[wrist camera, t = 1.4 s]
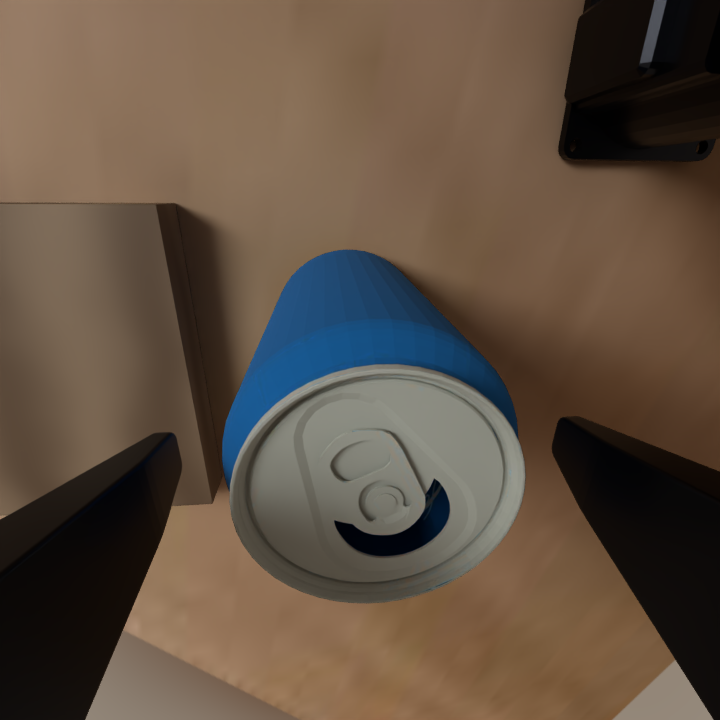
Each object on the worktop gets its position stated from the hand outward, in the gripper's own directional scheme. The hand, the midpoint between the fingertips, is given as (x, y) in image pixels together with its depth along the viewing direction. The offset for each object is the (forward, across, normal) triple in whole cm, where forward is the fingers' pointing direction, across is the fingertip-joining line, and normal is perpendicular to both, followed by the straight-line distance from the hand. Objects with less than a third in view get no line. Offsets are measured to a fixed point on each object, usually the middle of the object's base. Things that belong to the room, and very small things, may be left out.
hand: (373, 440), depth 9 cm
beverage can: (+10, 0, 0) cm, 10 cm away
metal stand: (+10, +14, +2) cm, 17 cm away
